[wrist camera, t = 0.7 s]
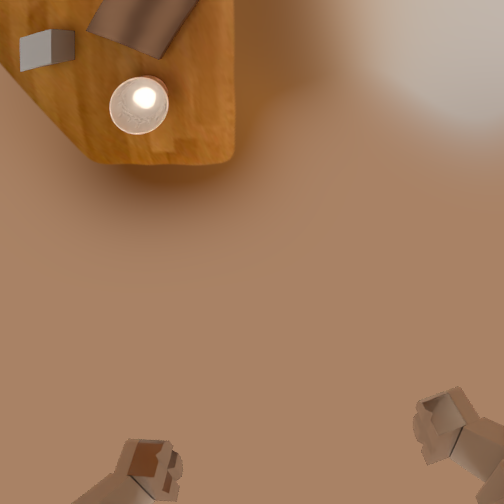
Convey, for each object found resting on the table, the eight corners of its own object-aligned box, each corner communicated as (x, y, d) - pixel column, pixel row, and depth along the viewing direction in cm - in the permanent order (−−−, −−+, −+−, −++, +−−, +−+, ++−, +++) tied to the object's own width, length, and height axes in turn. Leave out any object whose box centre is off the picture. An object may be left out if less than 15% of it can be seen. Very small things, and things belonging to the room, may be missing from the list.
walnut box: (96, 32, 35) (85, 30, 31) (135, -31, 30) (130, -40, 26) (161, 58, 41) (158, 59, 36) (202, -4, 36) (204, -11, 31)
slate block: (47, 65, 36) (20, 71, 28) (47, 37, 33) (19, 38, 25) (74, 59, 37) (51, 63, 29) (74, 31, 34) (51, 28, 26)
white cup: (134, 65, 40) (122, 69, 32) (179, 81, 44) (178, 89, 36) (115, 109, 44) (101, 124, 36) (159, 125, 47) (154, 142, 39)
